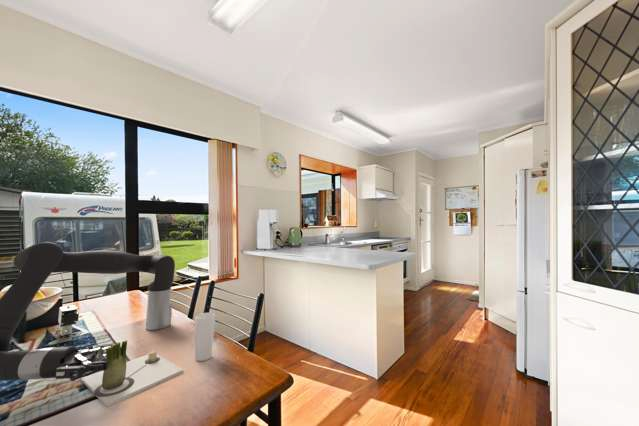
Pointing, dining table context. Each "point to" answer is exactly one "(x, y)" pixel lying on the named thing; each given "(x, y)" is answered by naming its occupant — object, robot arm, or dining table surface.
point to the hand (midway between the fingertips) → (116, 357)
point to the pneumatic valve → (67, 318)
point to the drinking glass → (204, 335)
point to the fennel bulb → (115, 366)
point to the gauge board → (133, 378)
